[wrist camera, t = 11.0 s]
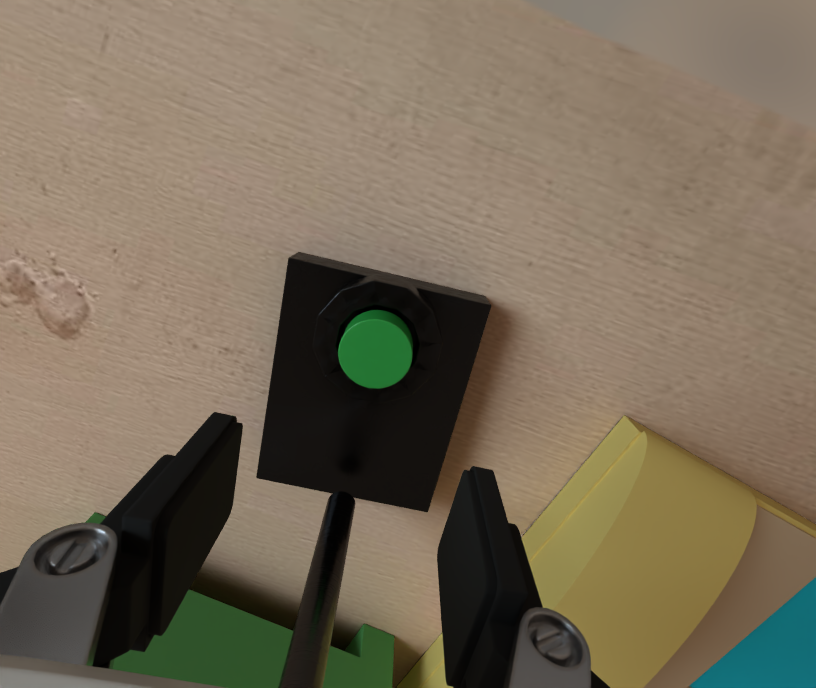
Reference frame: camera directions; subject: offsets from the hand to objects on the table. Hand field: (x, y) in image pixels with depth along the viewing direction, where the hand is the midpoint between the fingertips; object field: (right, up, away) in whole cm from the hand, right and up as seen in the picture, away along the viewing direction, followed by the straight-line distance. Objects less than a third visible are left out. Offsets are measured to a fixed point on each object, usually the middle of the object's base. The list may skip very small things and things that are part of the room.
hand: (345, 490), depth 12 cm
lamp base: (-1, +1, +16) cm, 16 cm away
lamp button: (0, +4, +11) cm, 12 cm away
